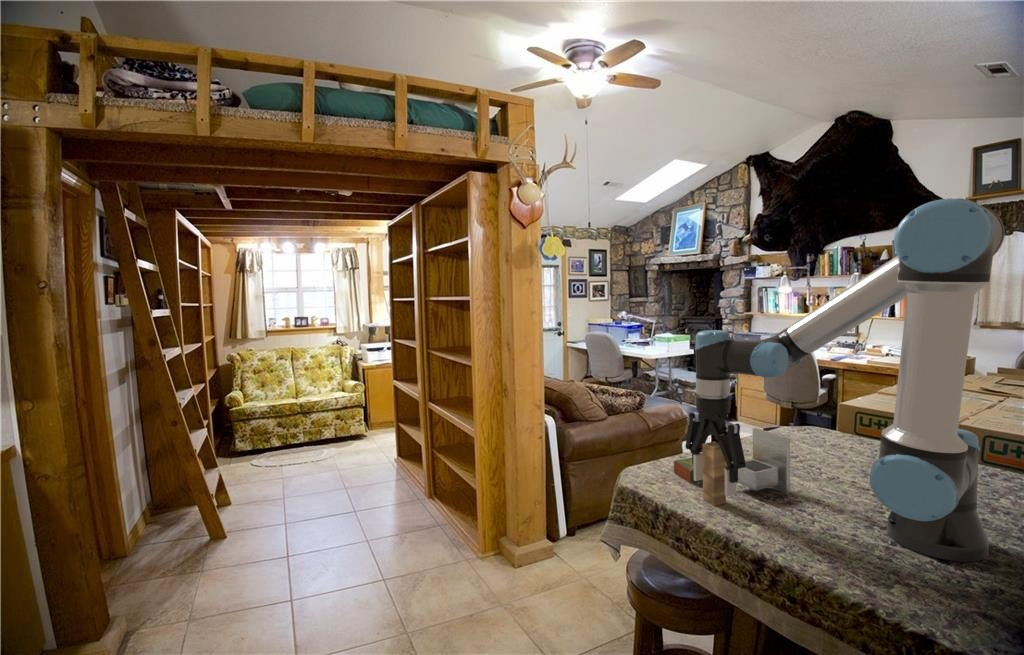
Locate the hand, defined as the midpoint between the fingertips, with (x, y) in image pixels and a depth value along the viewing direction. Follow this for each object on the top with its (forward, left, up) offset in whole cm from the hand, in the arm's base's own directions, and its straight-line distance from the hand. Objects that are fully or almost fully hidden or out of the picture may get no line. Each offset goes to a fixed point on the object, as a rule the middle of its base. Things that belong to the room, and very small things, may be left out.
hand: (714, 486), depth 118 cm
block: (0, 0, -4) cm, 4 cm away
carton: (+13, -11, -4) cm, 18 cm away
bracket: (0, -14, -4) cm, 15 cm away
